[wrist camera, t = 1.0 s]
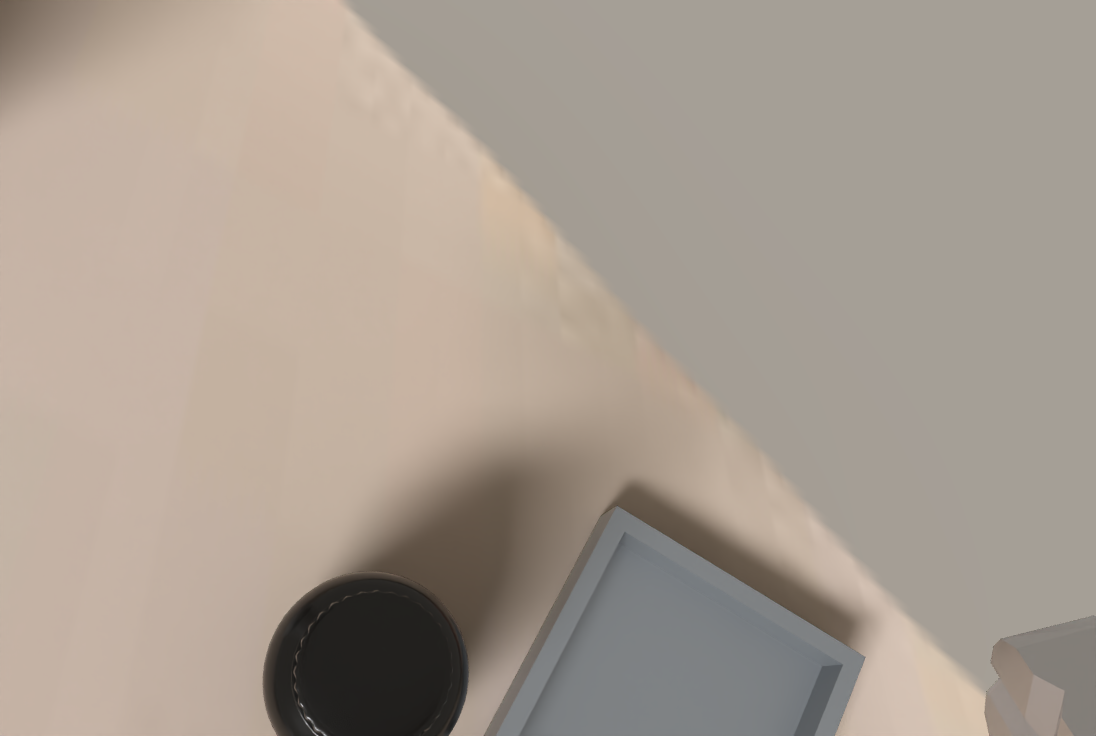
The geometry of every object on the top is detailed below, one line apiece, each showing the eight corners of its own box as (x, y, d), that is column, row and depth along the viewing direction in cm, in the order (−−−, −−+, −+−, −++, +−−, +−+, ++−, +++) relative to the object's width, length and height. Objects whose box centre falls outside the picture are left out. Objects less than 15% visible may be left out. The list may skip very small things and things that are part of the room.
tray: (459, 782, 42) (469, 786, 40) (600, 515, 47) (616, 505, 45) (724, 939, 43) (748, 952, 40) (837, 660, 47) (865, 657, 45)
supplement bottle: (341, 560, 44) (360, 508, 33) (472, 660, 44) (534, 642, 33) (230, 701, 41) (209, 696, 30) (368, 807, 41) (398, 841, 30)
